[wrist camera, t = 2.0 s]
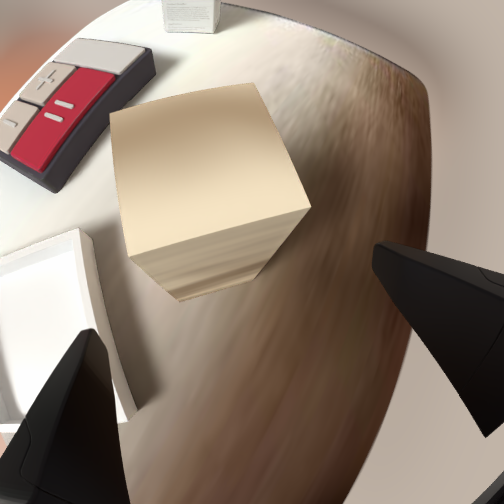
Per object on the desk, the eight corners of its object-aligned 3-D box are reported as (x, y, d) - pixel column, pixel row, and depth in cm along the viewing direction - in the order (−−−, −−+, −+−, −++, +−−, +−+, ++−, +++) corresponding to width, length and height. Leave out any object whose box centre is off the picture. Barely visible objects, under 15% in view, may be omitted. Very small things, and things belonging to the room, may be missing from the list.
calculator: (-21, 142, 16) (75, 32, 19) (1, 162, 20) (85, 58, 23) (37, 177, 16) (152, 42, 19) (62, 199, 20) (158, 74, 24)
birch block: (252, 280, 19) (311, 206, 8) (179, 302, 18) (128, 256, 7) (230, 212, 20) (253, 82, 9) (160, 231, 19) (109, 113, 8)
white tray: (137, 411, 16) (128, 421, 14) (12, 425, 14) (-4, 431, 11) (92, 239, 19) (78, 227, 16) (-20, 280, 16) (-37, 274, 14)
